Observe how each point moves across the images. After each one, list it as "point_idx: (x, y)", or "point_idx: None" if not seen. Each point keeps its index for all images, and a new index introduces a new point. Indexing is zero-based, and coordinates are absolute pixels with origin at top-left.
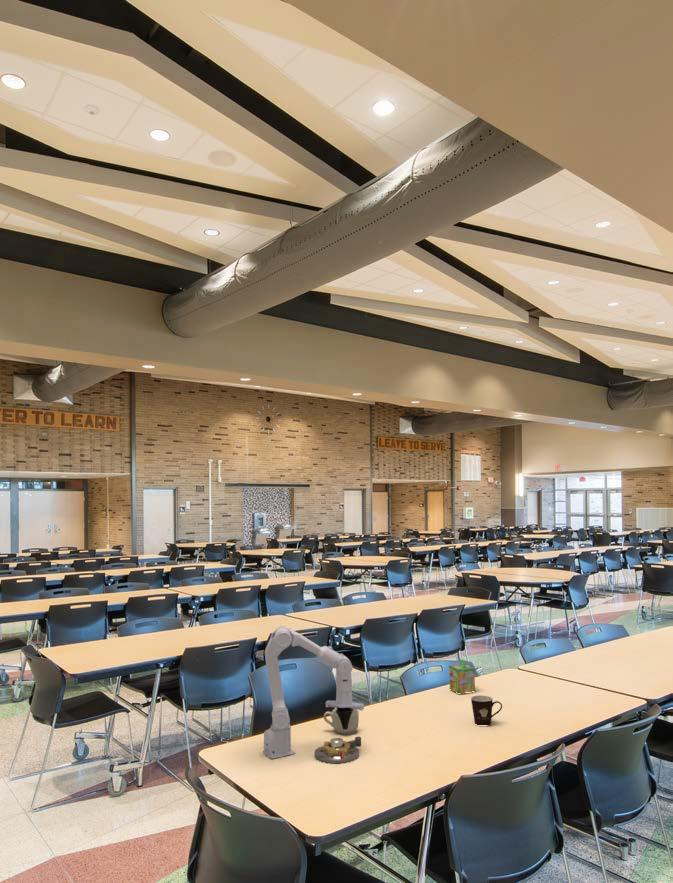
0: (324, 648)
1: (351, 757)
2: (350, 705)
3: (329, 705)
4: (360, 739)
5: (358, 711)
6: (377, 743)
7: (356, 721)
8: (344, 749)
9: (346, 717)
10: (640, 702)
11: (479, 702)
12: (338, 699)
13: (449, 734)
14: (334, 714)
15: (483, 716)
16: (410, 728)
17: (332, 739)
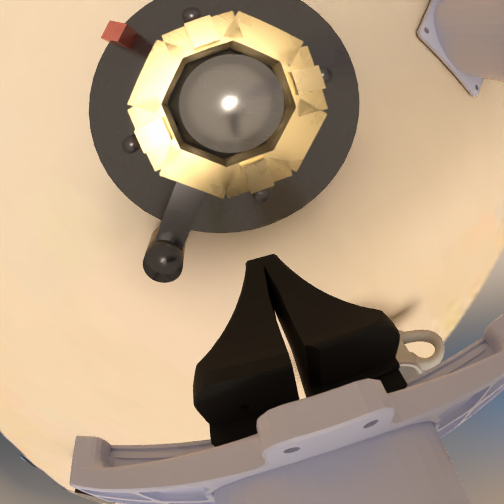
0: None
1: (94, 89)
2: (172, 483)
3: (486, 350)
4: (143, 261)
5: None
6: (162, 332)
7: None
8: (138, 83)
9: (235, 326)
10: (65, 487)
11: (82, 491)
12: (433, 500)
13: (85, 428)
14: (408, 373)
15: None
16: (179, 431)
17: (270, 97)
